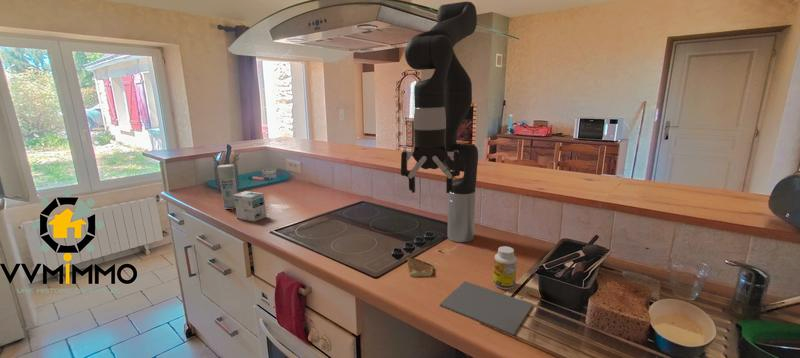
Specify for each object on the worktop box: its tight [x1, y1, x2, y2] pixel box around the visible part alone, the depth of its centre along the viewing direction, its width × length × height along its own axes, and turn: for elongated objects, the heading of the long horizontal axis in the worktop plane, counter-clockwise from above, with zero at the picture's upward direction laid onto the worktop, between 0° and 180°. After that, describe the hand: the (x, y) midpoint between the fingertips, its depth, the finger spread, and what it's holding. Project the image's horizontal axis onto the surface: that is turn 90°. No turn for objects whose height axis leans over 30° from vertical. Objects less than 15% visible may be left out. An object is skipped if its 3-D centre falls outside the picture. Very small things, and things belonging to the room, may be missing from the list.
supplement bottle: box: [493, 245, 518, 290], centre depth 90 cm, size 6×6×10 cm
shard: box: [406, 255, 435, 278], centre depth 101 cm, size 11×8×2 cm
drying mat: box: [439, 280, 534, 336], centre depth 82 cm, size 13×18×1 cm
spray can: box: [217, 164, 238, 210], centre depth 157 cm, size 6×6×20 cm
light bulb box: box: [234, 190, 267, 223], centre depth 145 cm, size 11×7×11 cm, turn 65°
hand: (430, 192), depth 85 cm, fingers open, 8 cm apart
